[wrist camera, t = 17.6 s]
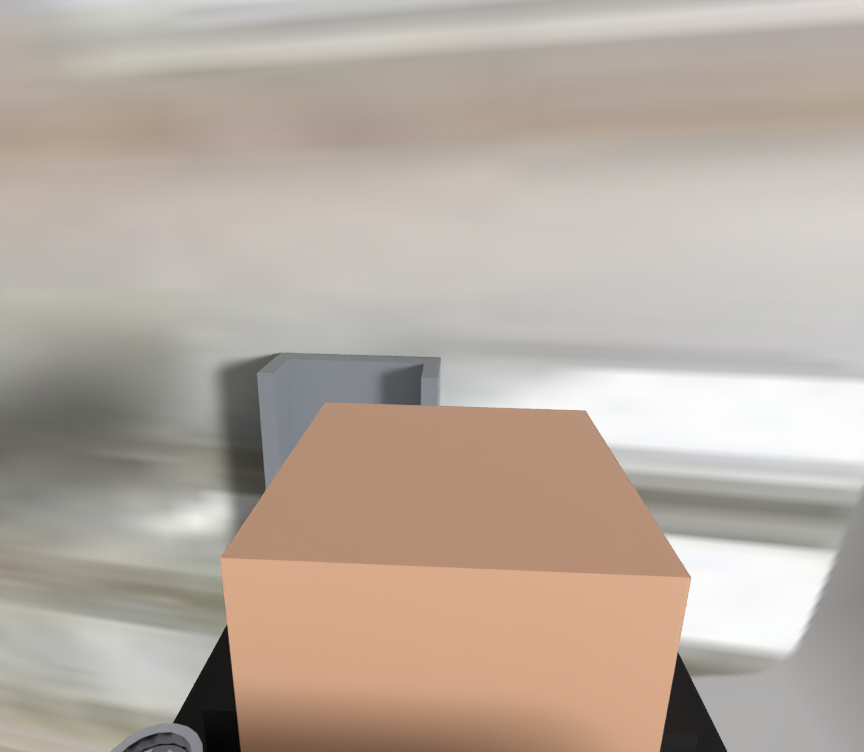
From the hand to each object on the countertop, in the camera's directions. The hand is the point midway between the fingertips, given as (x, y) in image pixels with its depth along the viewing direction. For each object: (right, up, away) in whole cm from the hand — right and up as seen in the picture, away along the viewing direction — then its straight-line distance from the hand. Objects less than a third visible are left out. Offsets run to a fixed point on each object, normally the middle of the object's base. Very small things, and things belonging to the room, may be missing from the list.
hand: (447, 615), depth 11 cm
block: (0, -2, -1) cm, 2 cm away
